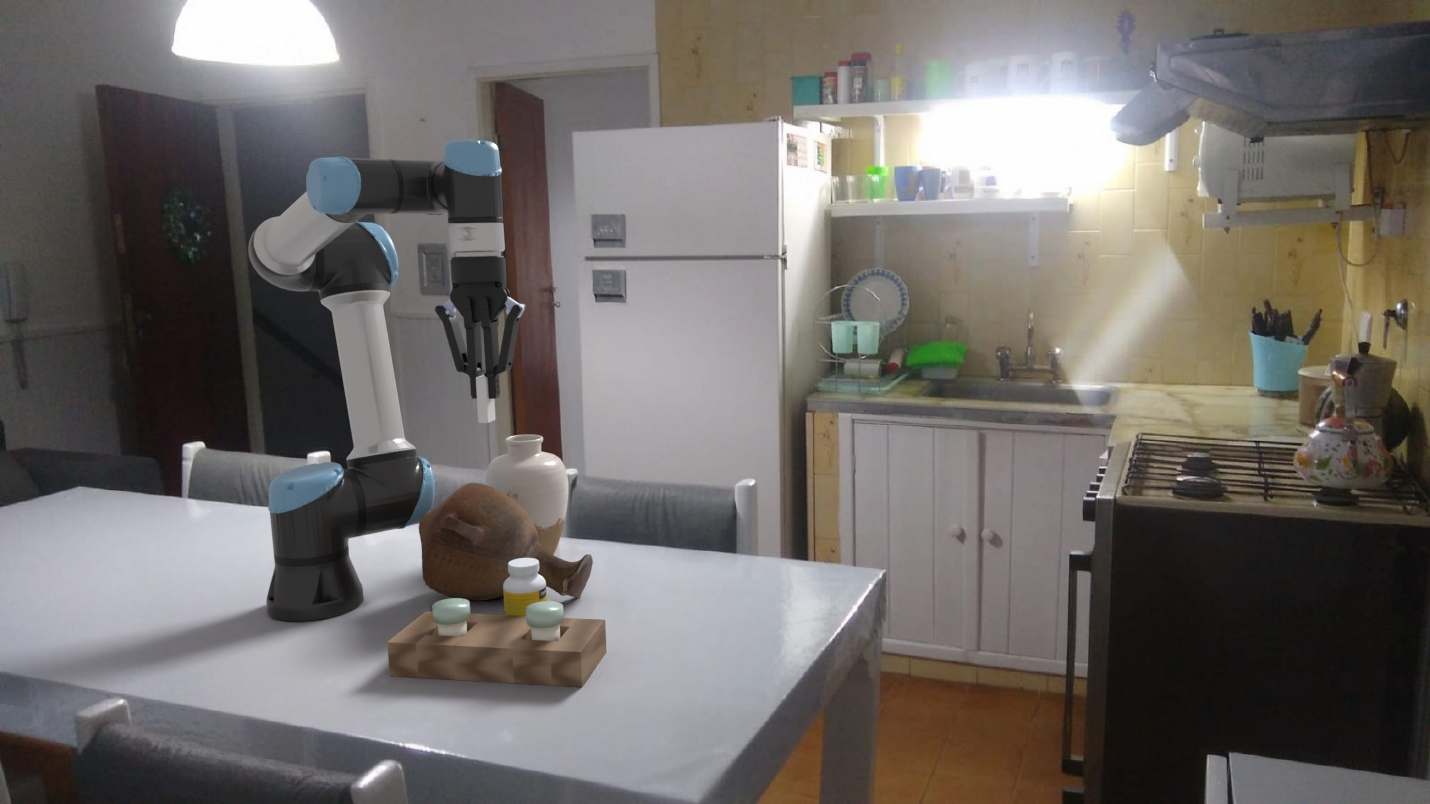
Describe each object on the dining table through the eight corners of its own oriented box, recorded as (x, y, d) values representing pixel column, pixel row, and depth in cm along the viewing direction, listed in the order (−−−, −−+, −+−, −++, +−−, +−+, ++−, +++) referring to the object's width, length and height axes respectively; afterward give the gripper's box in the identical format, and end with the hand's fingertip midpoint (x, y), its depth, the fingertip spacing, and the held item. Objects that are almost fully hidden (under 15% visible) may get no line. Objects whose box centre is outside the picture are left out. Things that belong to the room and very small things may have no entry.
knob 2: (523, 667, 146) (520, 613, 144) (535, 653, 151) (533, 600, 149) (558, 669, 145) (556, 614, 143) (570, 655, 150) (567, 601, 149)
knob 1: (429, 663, 148) (425, 610, 147) (445, 649, 153) (441, 597, 152) (464, 665, 147) (460, 611, 146) (478, 651, 152) (475, 598, 151)
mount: (389, 676, 146) (387, 642, 145) (427, 643, 157) (425, 611, 157) (582, 687, 141) (580, 652, 140) (606, 652, 152) (605, 619, 152)
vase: (563, 538, 211) (558, 427, 207) (578, 560, 196) (573, 441, 192) (483, 546, 206) (477, 433, 202) (493, 570, 191) (486, 448, 188)
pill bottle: (539, 644, 156) (535, 570, 154) (498, 642, 157) (494, 568, 155) (554, 628, 162) (551, 556, 160) (515, 626, 164) (511, 554, 162)
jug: (392, 607, 173) (558, 651, 166) (388, 503, 165) (562, 545, 159) (453, 548, 191) (605, 586, 185) (453, 453, 184) (611, 488, 177)
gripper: (421, 256, 143) (432, 425, 146) (512, 254, 140) (521, 426, 144) (445, 254, 150) (455, 416, 154) (531, 253, 148) (539, 417, 151)
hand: (487, 421), depth 149 cm, fingers closed
